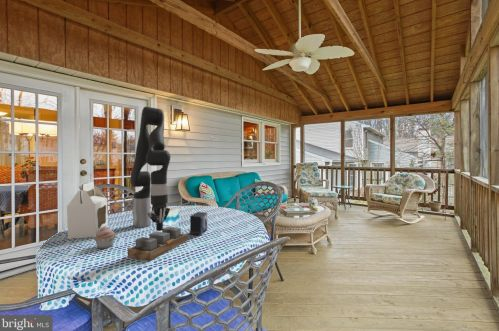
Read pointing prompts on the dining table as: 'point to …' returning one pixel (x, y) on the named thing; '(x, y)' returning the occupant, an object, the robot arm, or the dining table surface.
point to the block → (160, 237)
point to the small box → (198, 223)
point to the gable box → (87, 212)
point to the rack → (156, 245)
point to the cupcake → (105, 237)
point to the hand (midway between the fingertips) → (159, 230)
